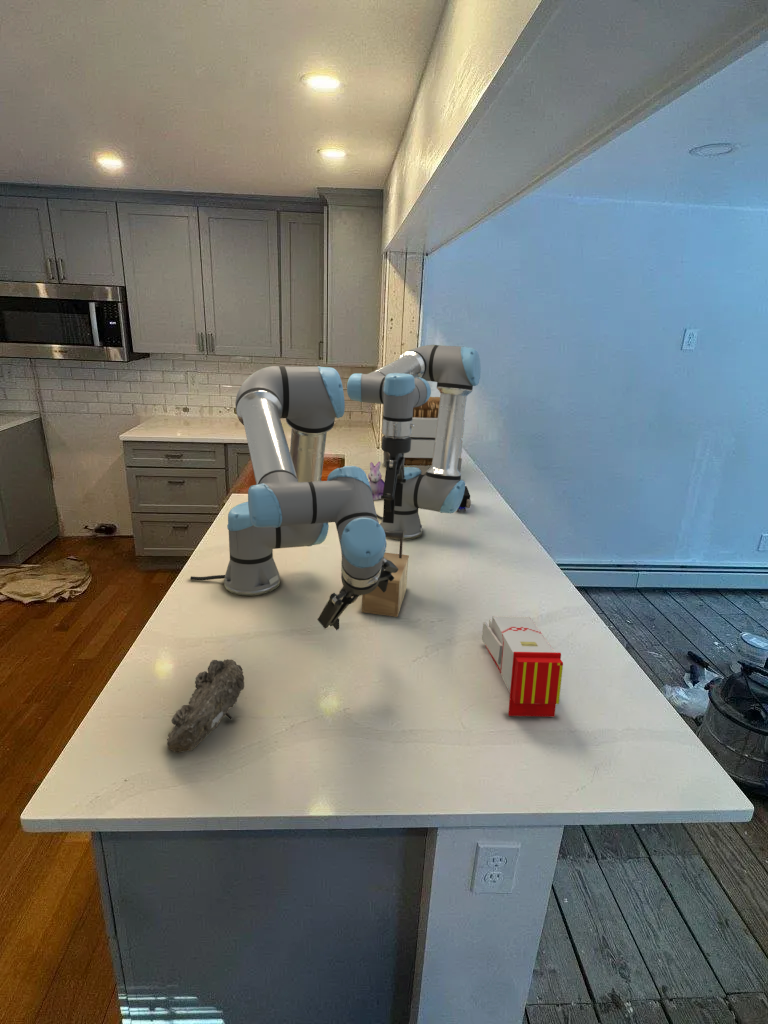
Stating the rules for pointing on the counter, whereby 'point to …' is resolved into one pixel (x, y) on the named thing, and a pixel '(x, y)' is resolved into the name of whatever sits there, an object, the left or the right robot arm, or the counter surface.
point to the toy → (525, 665)
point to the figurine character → (465, 500)
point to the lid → (396, 556)
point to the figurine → (376, 481)
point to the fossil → (206, 705)
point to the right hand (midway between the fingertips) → (392, 513)
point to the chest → (386, 598)
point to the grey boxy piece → (424, 435)
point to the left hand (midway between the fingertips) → (358, 605)
